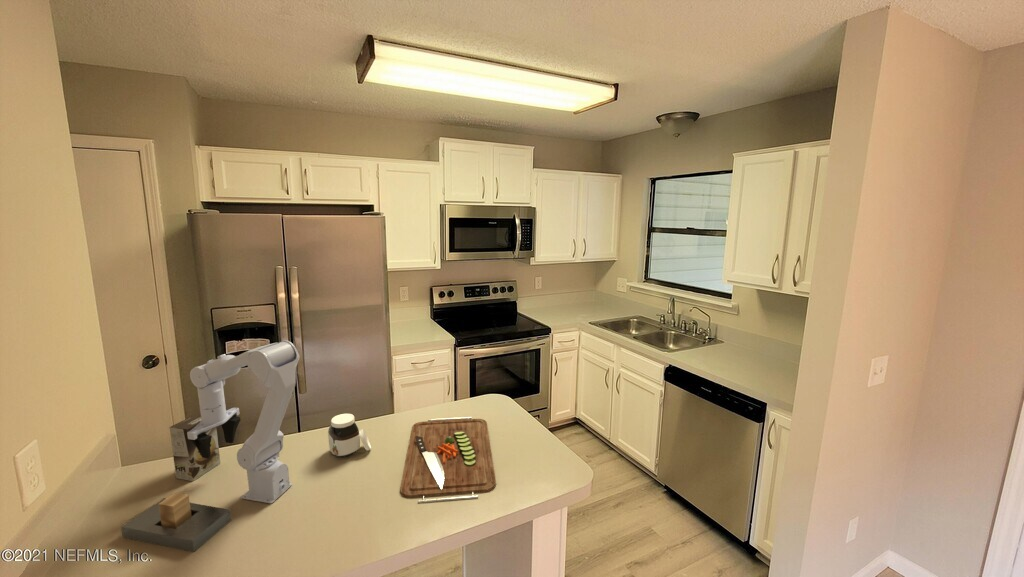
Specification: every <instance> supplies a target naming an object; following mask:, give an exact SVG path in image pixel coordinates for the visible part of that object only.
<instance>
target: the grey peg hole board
mask: <svg viewBox="0 0 1024 577" xmlns="http://www.w3.org/2000/svg"><path fill="white" fill-rule="evenodd" d="M165 499H167V498H164V497H163V498H162V499H160V500H159V501H157V502H155V503H154V504H152V505H151V506H150V507H148V508H147V509H145V510H143V511H142V512H141V513H140V514H139V513H138V514H137V515H136V516H135V517H133V518H132V519H130V520H129V521H127V522H126V523H124V524H123V525H121V527H120V530H121V533H122V538H123V539H126V540H127V539H128V540H134V541H138V542H142V543H148V544H152V545H153V544H154V545H158V546H163V547H166V548H167V547H168V548H173V549H178V550H184V551H188V552H193V553H194V552H196V551H197V550H198V549H200V548H201V547H202V546H204V544H205V543H206V542H208V541H209V540H210V539H211V538H213V537H214V536H215V535H216V534H217V533H218V532H220V530H222V529H223V528H224V527H226V526H227V524H229V523H230V522H232V515H231V509H229V508H228V509H227V508H222V507H216V506H213V505H212V506H210V505H206V504H199V503H195V502H190V508H191V515H192V517H190V518H189V519H188V520H187V521H185V522H184V523H183V524H181V525H180V526H179V527H177V528H176V529H173V528H168V527H162V523H161V517H160V511H159V505H158V504H159V503H161V502H162V501H164V500H165Z"/></svg>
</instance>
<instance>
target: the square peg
mask: <svg viewBox="0 0 1024 577" xmlns="http://www.w3.org/2000/svg"><path fill="white" fill-rule="evenodd" d="M190 503H191V502H190V496H189V494H184V493H178V492H174V493H173V494H171V495H170V496H168V497H167V498H166V499H165V500H164V501H162V502H161V503H159V504H158V505H159V511H160V517H161V523H162V527H168V528H173V529H176V528H177V527H179V526H180V525H181V524H183V523H184V522H185V521H187V520H188V519H189V518H190V517H192V515H191V508H190Z"/></svg>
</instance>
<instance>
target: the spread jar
mask: <svg viewBox="0 0 1024 577" xmlns="http://www.w3.org/2000/svg"><path fill="white" fill-rule="evenodd" d="M354 415H355V414H354ZM354 415H353V414H352V413H342V414H341V413H340V414H338V415H334V416H333V417H332V418H331V420H330V424H331V425H329V428H328V429H327V430H328V431H327V434H328V435H327V436H328V437H327V438H328V445H329V446H328V447H329V451H330V453H331V454H332V456H333V457H334V458H337V459H345V458H349V457H351V456H353V455H355V454H356V453H357V452H358V451H359V450H360V447H361V443H362V445H363V447H364V449H365V451H367V452H369V451H370V450H371V449H372V446H371V445H372V444H371V442H370V440H369V438H368V435H367V433H366V431H365V429H360V430H359V427H358V425H357V423H356V422H355V416H354Z"/></svg>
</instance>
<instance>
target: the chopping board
mask: <svg viewBox="0 0 1024 577" xmlns="http://www.w3.org/2000/svg"><path fill="white" fill-rule="evenodd" d="M489 434H490V433H489V427H488V423H487V421H486V420H485V419H483V418H472V416H468V417H467V416H466V417H465V416H464V417H445V418H444V417H443V418H429V419H428V420H427V421H419V422H415V423H414V424H413V425H412V427H411V431H410V438H409V441H408V447H407V452H406V456H405V457H406V458H405V462H404V467H403V472H402V478H401V483H400V486H399V487H400V488H399V489H400V495H402V497H405V498H410V499H411V498H422V499H418V500H417V504H424V503H425V504H426V503H438V502H439V503H440V502H448V501H449V502H451V501H463V500H464V501H465V500H474V499H475V500H476V499H479V495H475V494H476V493H486V492H490V491H492V490H494V488H495V487H496V485H497V480H496V472H495V467H494V459H493V454H492V453H493V452H492V445H491V440H490V435H489ZM461 494H471V495H468V496H455V497H444V498H443V497H442V498H430V499H425V497H435V496H448V495H449V496H450V495H461Z"/></svg>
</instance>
